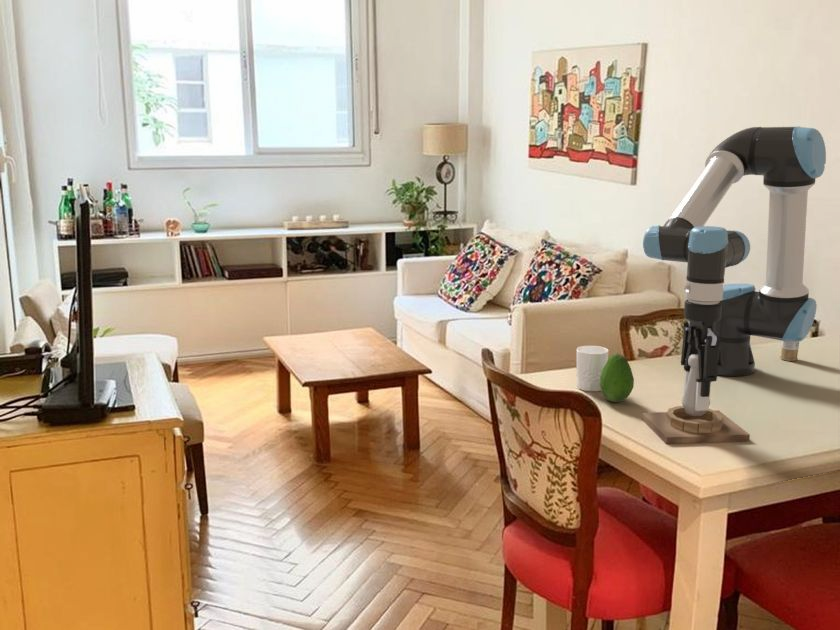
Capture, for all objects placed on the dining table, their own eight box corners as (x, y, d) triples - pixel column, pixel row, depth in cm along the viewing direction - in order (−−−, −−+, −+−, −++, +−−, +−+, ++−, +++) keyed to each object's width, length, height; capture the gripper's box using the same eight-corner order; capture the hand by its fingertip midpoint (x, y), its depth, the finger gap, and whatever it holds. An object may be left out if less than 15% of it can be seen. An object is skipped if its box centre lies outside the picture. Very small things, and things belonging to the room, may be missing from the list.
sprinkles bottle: (787, 356, 238) (791, 310, 235) (801, 360, 234) (806, 313, 231) (776, 358, 236) (781, 312, 233) (790, 362, 232) (795, 315, 229)
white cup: (570, 389, 209) (572, 351, 207) (580, 381, 216) (581, 344, 214) (601, 394, 206) (603, 355, 203) (610, 385, 212) (612, 347, 210)
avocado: (604, 407, 196) (606, 358, 193) (594, 396, 204) (597, 349, 201) (637, 406, 197) (640, 357, 194) (626, 395, 204) (629, 348, 202)
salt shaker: (700, 407, 184) (705, 351, 181) (714, 416, 179) (718, 358, 176) (676, 409, 183) (680, 352, 180) (688, 418, 178) (693, 359, 175)
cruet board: (718, 416, 190) (719, 402, 189) (749, 441, 175) (750, 425, 174) (641, 419, 188) (642, 404, 188) (666, 444, 174) (667, 428, 173)
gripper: (669, 292, 184) (662, 391, 189) (704, 310, 166) (696, 420, 171) (702, 291, 185) (694, 390, 190) (741, 310, 166) (731, 419, 172)
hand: (695, 404), depth 181 cm, fingers closed on salt shaker, 6 cm apart
